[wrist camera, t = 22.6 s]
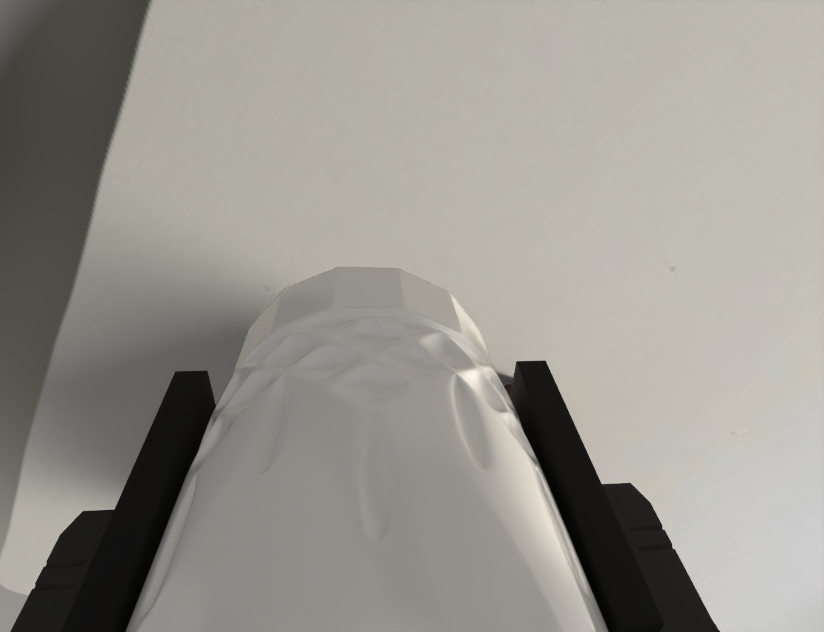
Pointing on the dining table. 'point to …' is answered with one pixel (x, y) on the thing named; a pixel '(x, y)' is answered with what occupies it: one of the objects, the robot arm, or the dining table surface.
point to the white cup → (365, 481)
